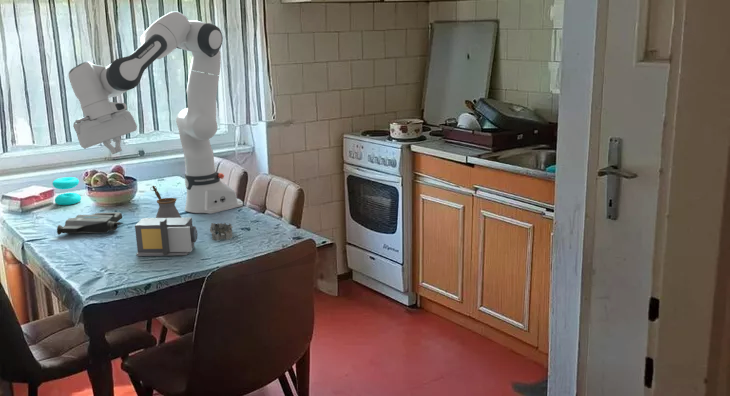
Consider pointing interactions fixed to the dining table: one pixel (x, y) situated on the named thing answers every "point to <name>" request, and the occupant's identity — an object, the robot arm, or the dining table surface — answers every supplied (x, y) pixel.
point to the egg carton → (221, 231)
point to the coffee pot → (166, 206)
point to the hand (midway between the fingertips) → (117, 152)
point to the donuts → (66, 197)
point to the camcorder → (91, 223)
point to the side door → (175, 238)
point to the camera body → (159, 235)
